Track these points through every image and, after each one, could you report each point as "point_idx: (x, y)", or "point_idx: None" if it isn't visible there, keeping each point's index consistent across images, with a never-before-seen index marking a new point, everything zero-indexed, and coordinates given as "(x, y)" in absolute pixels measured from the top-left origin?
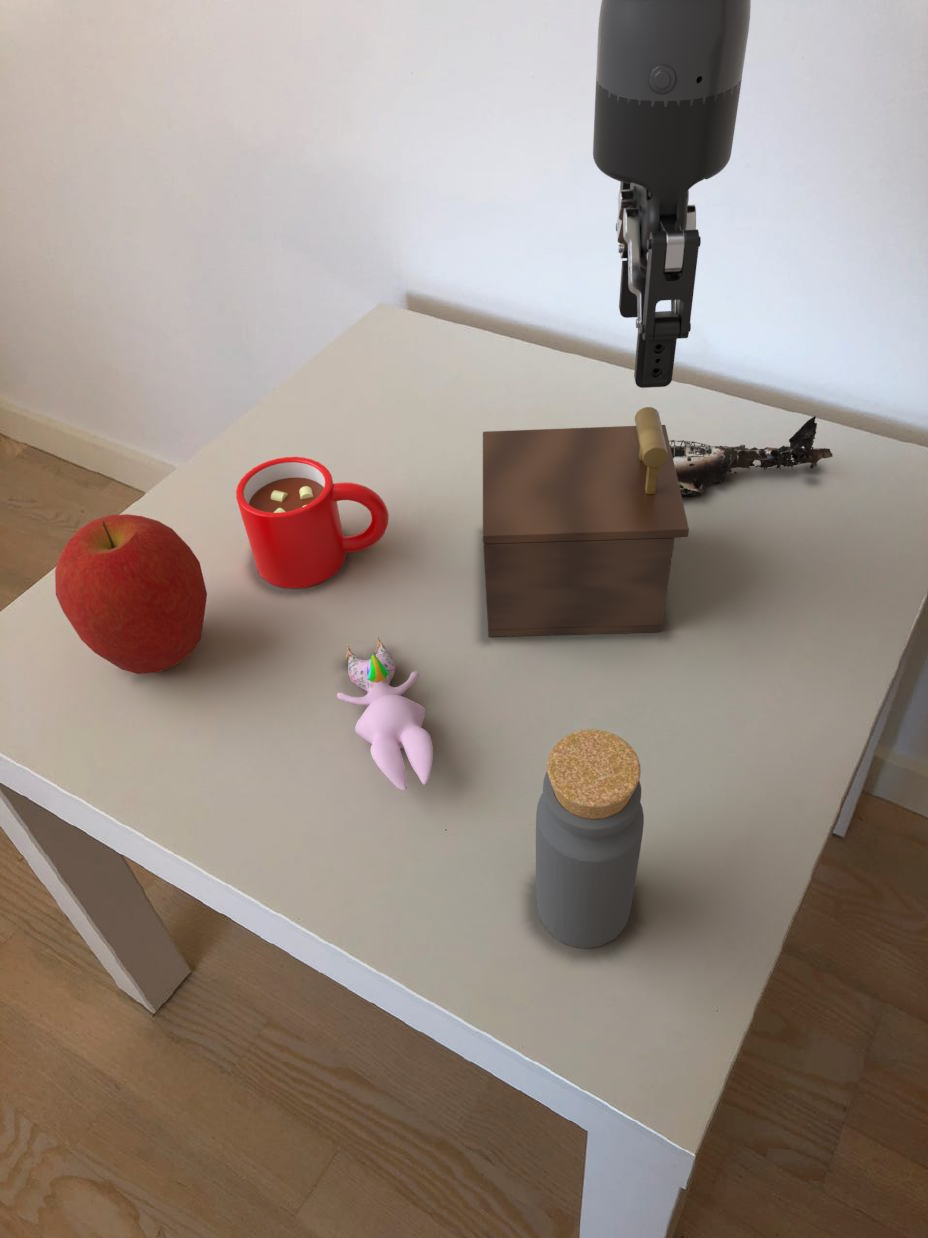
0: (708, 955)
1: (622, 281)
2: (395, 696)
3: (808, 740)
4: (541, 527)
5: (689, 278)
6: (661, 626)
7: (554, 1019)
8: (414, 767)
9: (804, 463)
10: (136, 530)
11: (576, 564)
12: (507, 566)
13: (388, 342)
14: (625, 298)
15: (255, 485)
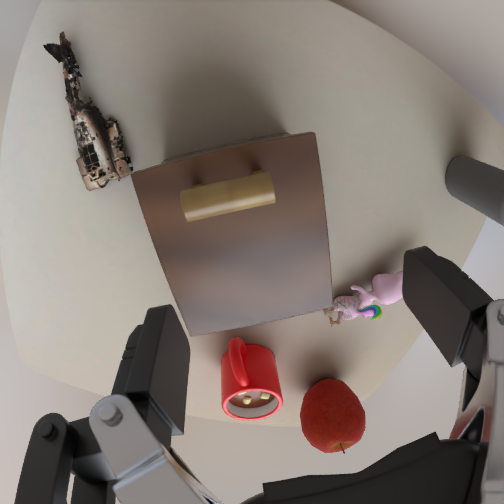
0: (474, 123)
1: (185, 404)
2: (385, 295)
3: (367, 44)
4: (322, 268)
5: None
6: (288, 133)
7: None
8: None
9: (71, 49)
10: (339, 442)
11: None
12: None
13: (45, 361)
14: (184, 369)
15: (244, 411)
